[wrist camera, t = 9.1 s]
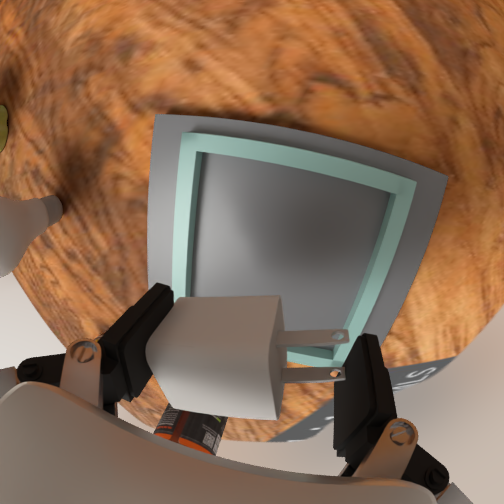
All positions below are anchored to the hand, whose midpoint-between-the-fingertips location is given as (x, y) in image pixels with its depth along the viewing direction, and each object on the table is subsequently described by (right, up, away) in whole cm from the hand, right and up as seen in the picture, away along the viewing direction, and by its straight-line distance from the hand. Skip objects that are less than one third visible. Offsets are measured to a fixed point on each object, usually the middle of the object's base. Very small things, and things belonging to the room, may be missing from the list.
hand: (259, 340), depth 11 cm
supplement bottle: (-5, -11, +15) cm, 19 cm away
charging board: (+1, +3, +7) cm, 8 cm away
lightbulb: (-18, +8, +10) cm, 22 cm away
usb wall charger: (0, 0, +1) cm, 2 cm away
